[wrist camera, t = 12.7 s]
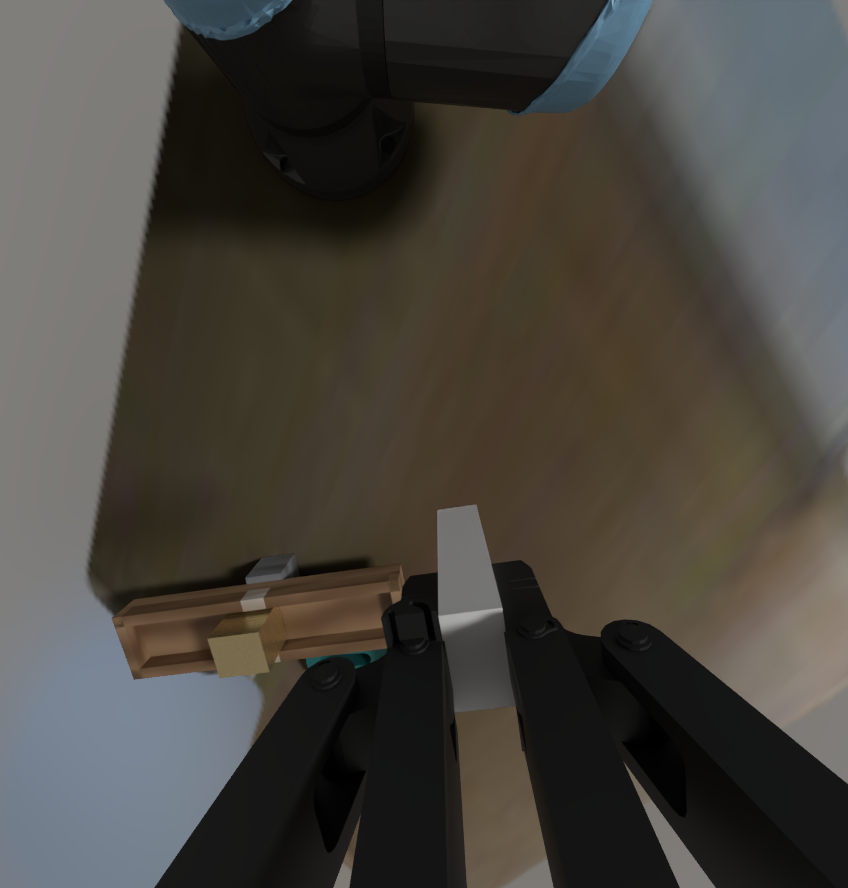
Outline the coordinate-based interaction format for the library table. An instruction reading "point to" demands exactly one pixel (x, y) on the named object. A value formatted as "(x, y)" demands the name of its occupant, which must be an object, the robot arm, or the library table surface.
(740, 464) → the library table surface
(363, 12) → the robot arm
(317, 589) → the brown long open piece
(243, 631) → the block
